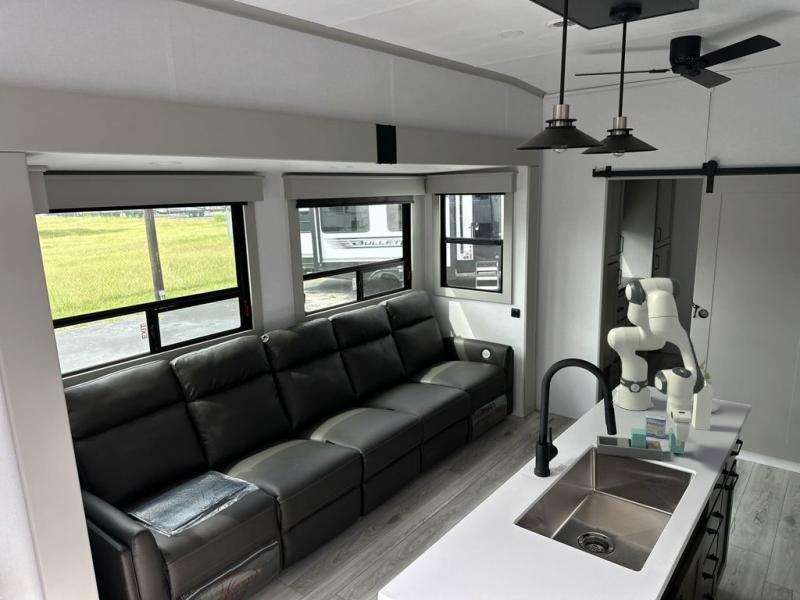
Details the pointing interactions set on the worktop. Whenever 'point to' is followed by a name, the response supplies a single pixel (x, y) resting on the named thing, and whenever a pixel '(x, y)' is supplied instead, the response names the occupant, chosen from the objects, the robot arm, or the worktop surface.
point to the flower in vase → (707, 376)
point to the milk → (702, 408)
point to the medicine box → (655, 426)
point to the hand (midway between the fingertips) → (676, 441)
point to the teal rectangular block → (672, 444)
